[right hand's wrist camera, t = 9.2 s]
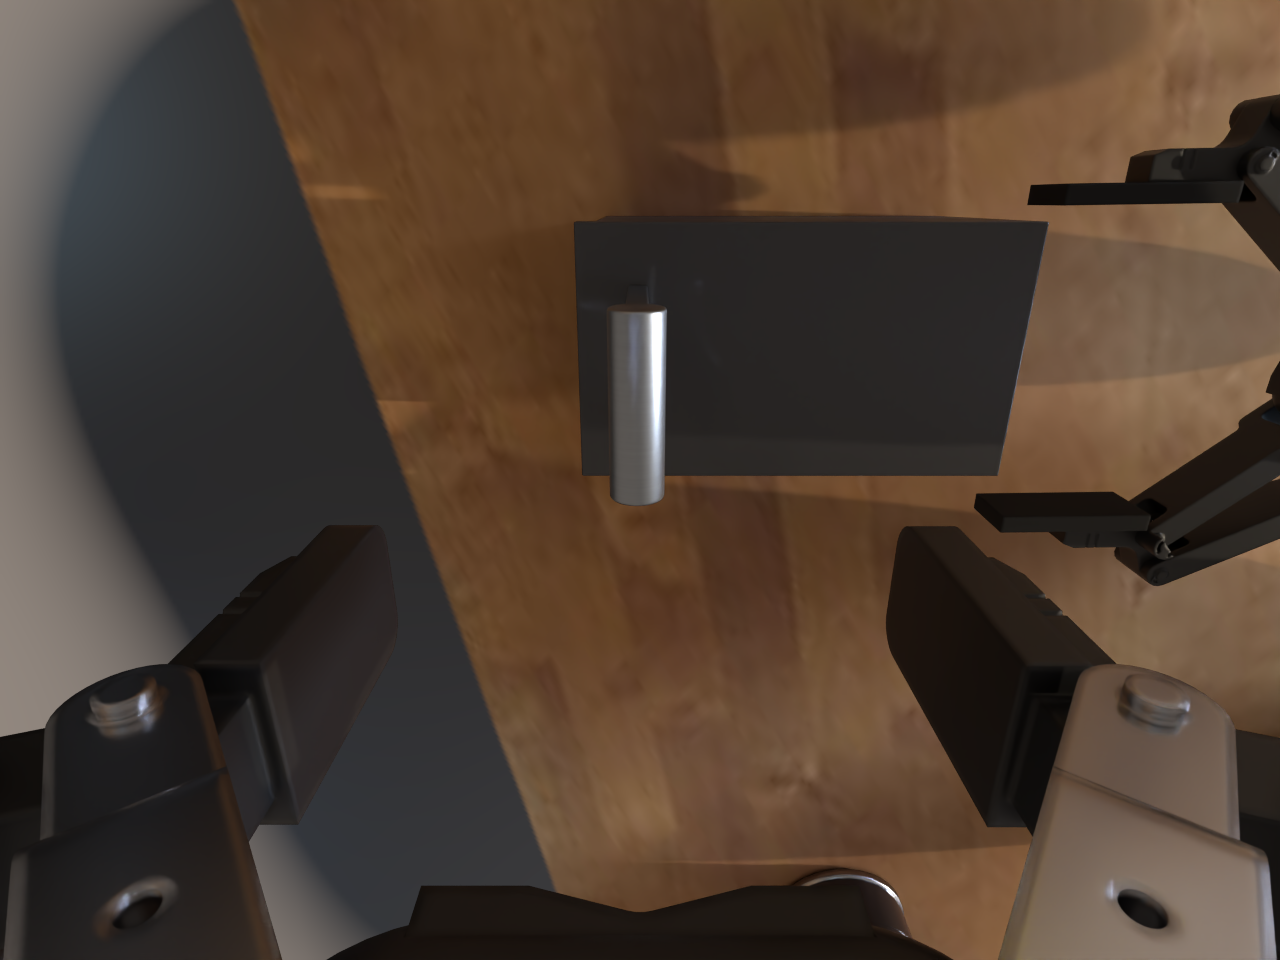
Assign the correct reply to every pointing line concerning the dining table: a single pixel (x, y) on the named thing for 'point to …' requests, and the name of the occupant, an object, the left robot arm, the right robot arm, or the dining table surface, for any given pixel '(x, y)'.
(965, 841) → the dining table surface
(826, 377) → the lid
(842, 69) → the dining table surface
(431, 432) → the dining table surface
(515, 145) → the dining table surface
